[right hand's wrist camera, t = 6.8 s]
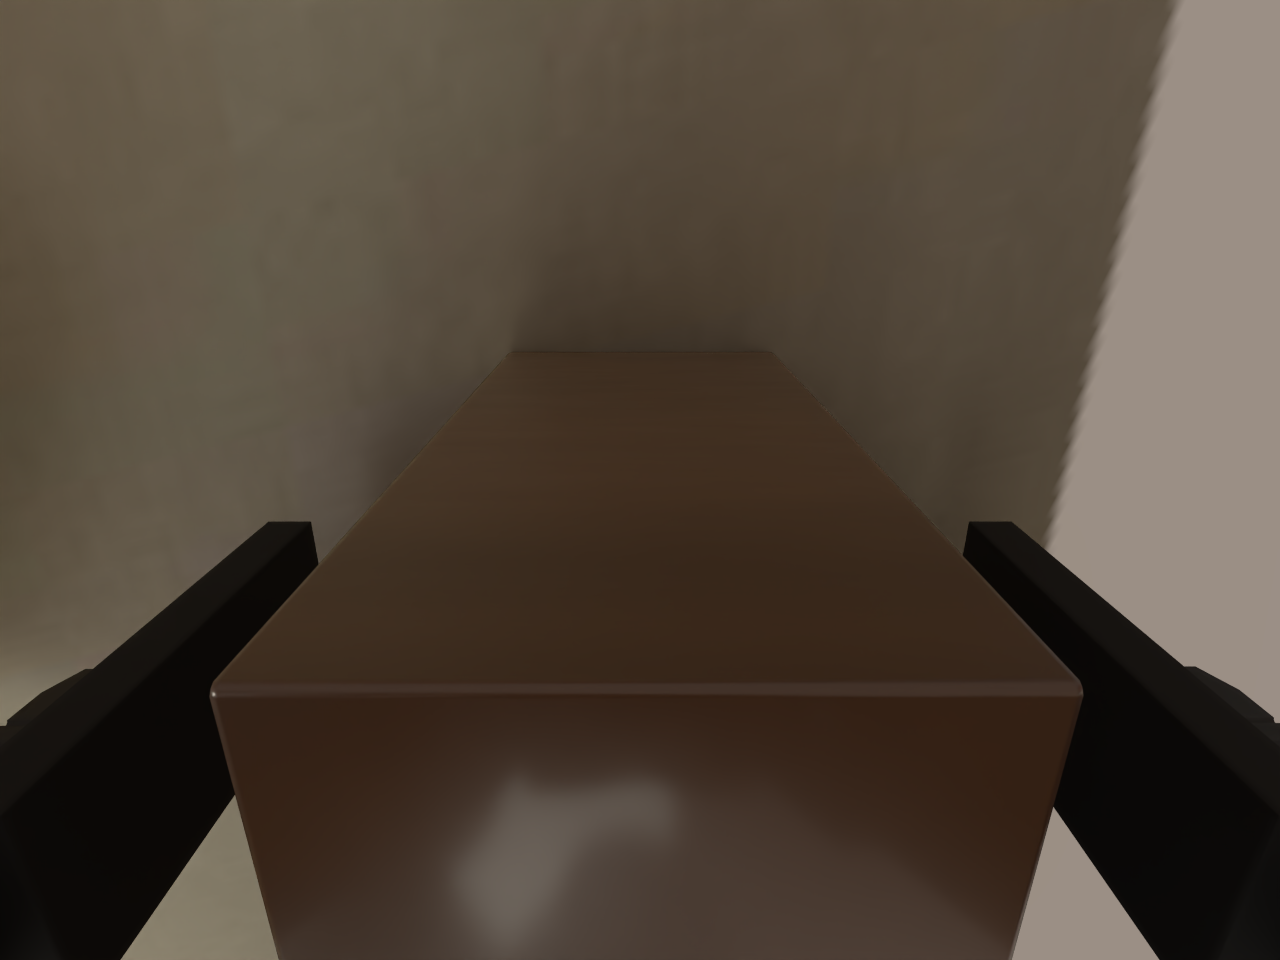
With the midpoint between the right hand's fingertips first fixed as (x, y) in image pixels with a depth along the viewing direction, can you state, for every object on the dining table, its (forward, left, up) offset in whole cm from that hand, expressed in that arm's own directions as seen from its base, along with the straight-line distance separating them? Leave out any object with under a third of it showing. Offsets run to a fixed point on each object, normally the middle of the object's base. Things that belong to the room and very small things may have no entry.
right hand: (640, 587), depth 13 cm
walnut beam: (-11, -7, -2) cm, 13 cm away
